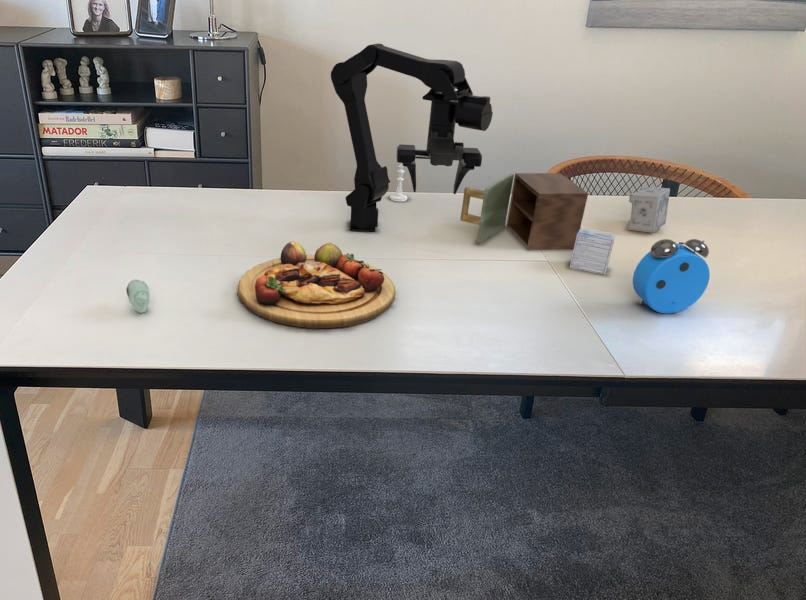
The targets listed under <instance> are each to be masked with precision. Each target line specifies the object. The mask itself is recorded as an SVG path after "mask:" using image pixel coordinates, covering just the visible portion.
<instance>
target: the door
mask: <svg viewBox="0 0 806 600" xmlns="http://www.w3.org/2000/svg"><path fill="white" fill-rule="evenodd" d="M514 178H515V173H510V174H508V175H505V176H504V177H503V178H500V179H499V180H498V181H496V182H494V183H492V184H491V185H489V186H487V187H485V188H484V190H481V189H477V188H474V187H469V186H468V187H464V191H463V196H462V197H463V198H462V205H461V212H460V221H461V222H464V223H468V224H472V225H476V226H478V231H477V239H476V244H477V245H481V244H482V243H483V242H485V241H486V240H488V239H489V238H491V237H492V236H494V235H495V234H496V233H498V232H499V231H500V230H502V229H503V228H505V227H506V224H507V218H508V212H509V207H510V201H511V195H512V189H513V183H514ZM471 198H474V199H479V200H482V206H481V211H480V216H478V215H476V214H470V213H469V209H470V201H471Z"/></svg>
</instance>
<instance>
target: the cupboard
mask: <svg viewBox="0 0 806 600" xmlns="http://www.w3.org/2000/svg"><path fill="white" fill-rule="evenodd" d="M588 197H589V193H588V192H587V191H585V190H584V189H583V188H581V187H580V186H579V185H577V184H576V183H575V182H574V181H572V180H571V179H570V178H568V177H567V176H565V175H564V174H562V173H560V172H557V173H556V172H553V173H551V172H546V173H545V172H542V173H541V172H537V173H536V172H532V173H531V172H527V173H526V172H518V173H517V172H515V173H514V177H513V183H512V188H511V194H510V200H509V206H508V212H507V217H506V223H505V227H506V228H507V229H508V230H509V231H510V232H511V234H513V235H514V237H515V238H516V239H517V240H518V241H519V242H520V243H521V244H522V245H523V246H524V247H525V248H526V249H527V250H528V251H553V250H554V251H556V250H558V251H559V250H560V251H561V250H563V251H565V250H566V251H567V250H574V246H575V242H576V237H577V233H578V231H579V229H580V228H581V227H582V222H583V218H584V215H585V214H584V213H585V210H586V204H587V201H588Z"/></svg>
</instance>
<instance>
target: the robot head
mask: <svg viewBox="0 0 806 600" xmlns="http://www.w3.org/2000/svg"><path fill="white" fill-rule="evenodd" d="M126 295H127V298H128V301H129V304H130V305H131V307H132V308H133V309H134V310H135V311H136V312H138V313H140V314H142V313H146V311H147V310H148V308H149V305H150V289H149V286H148V284H147V283H146V282H145V280H140V279H132V280H131V281H129V282H128V284H127V286H126Z"/></svg>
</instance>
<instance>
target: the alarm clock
mask: <svg viewBox="0 0 806 600" xmlns="http://www.w3.org/2000/svg"><path fill="white" fill-rule="evenodd" d="M709 254H710V250H709V247H708V245H707V244H706V243H705V240H700V239H698V238H691V239H688V240H687V241H686V242H684V241H683V242H682V241H680V242H678V243H676V242H675V241H674V240H672V239H668V238H663V239H660V240H657V241H656V242H654V243H653V245H651V247H650V251H649V252H647V253H645V255H644V256H643V257H642V258H641V259H640V261H639V262H638V264H636V267H635V269H634V271H633V275H632V287H633V290H634V293H635V294H636V295H637V296H638V298H639V299H641V301H640V303H639V304H640V305H643V304H644V303H645V304H646V305H647V306H648V307H649V308H650V309H652V310H653V311H655V312H657V313H660V314H664V315H665V314H677V313H679V312H683V311H684V310H686V309H688V308H690V307H691V306H693V305H694V304H695V303H697V302H698V300H700V299H701V297H702V296H703V295H704V293H705V292H706V289H707V288H708V285H709V281H710V276H711V274H710V267H709V265H708V263H707V261H706V260H705V259H707V258H708V256H709Z"/></svg>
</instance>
